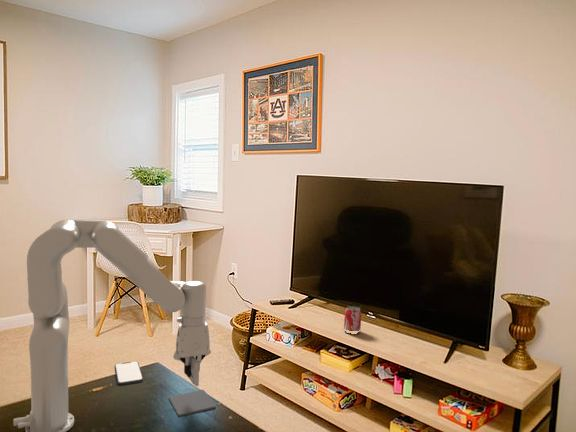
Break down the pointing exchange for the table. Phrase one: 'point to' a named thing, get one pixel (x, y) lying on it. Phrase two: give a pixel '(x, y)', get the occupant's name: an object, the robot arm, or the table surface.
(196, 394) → the pad
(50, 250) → the robot arm
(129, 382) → the phone case
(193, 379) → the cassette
